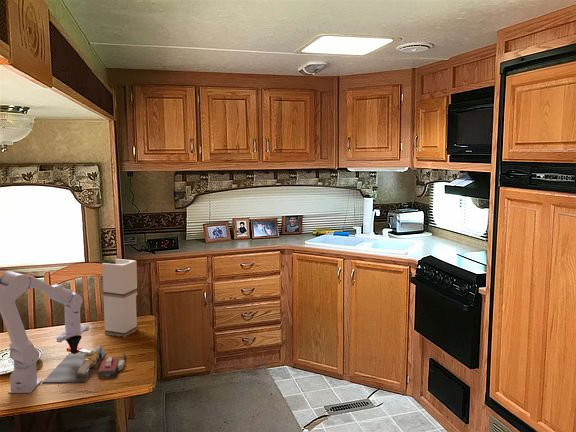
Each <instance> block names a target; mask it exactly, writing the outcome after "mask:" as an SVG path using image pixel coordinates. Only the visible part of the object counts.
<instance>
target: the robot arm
mask: <svg viewBox="0 0 576 432" xmlns="http://www.w3.org/2000/svg"><path fill="white" fill-rule="evenodd" d="M30 289H36V290H38V291H41V292H43V293H46V294H47V297H48V299H50V300H53V301H56V302H58V303H60V304H61V305H63V306H64V307H63V309H64V330H65V332H62V334H60V335H59V336H56V342H57V343H63V341H66V343H67V344H68V347H70V350H71V352H70V353H72V354H76V353H77V347H79V344H80V341H81V340H82V334H83V333H85V332H88V331H90V328H89V327H90V326H88V325H83V326H81V310H82V309H81V306H82V303H83V301H84V299H83V298H82V296H81V294H79V293H77V292H75V291H73V290H72V289H70V288H68V289H67V288H65V287H64V285H63V284H60V283H58V284H57V283H56V284H53V285H51V284H49V283H47V282H45V281H43V280H41V279H39V278H37V277H34V276H32V275H27V274H23V273H20V272H16V271H13V270H8V271H5V272H3V273H2V274H1V276H0V315H1V319H2V321H3V323H4V326H5V329H6V332H7V335H8V336H9V339H10V344H9V349H10V350H9V357H10V359H11V360H13V371H12V372H11V374H10V376H9V383H10V384H9V385H10V389H9V390H8V392H7V393H9V394H27V393H28V394H30V393H32V392H33V391H34V390H35V388H37V387H38V385H40V383H41V382H43V380H42V379H41V378H40V379H38V375H37V374H38V373H37V362H38V360H39V359H40V352H39V349H37V348H36V347H35V346H34V344H33V342H32V341H31V340H30V339H29V338H28V335H27V331H26V330H25V326H24V324H23V321H22V319H21V315H20V312H19V309H18V307H17V305H16V300H18V299H19V297H20V296H22V295H23V294H24V293H25V292H26V291H27V290H30Z"/></svg>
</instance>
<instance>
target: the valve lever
mask: <svg viewBox="0 0 576 432" xmlns="http://www.w3.org/2000/svg"><path fill="white" fill-rule="evenodd" d="M66 352H69V353H71V350H70V346H68V347H66ZM77 353H84V354H87V355H93V354H94V350H89V349H88V350H87V349H82V347H79V346H78V347H77Z"/></svg>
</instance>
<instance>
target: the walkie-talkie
mask: <svg viewBox="0 0 576 432" xmlns="http://www.w3.org/2000/svg"><path fill="white" fill-rule="evenodd" d="M125 358H126V353H123V354H122V356H121V359H120V358H114V357H113V356H112V357H107V358H104V359H102V360H101V362H100V363H101V364H100V366H99V369H98V370H97V377H98V378H99V379H103V378H114V377H116V376H117V374H118V372H119V371H121V370H123V369H124V366H125V363H126V362H125V361H126V360H125Z"/></svg>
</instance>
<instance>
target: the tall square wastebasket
mask: <svg viewBox="0 0 576 432" xmlns="http://www.w3.org/2000/svg"><path fill="white" fill-rule="evenodd" d="M137 263H138V262H137V260H133V259H122V258H115V263H109V262H108V263H105V262H102V266H101V267H102V268H101V269H102V292H103V316H104V320H103V321H104V323H103V324H104V334H105V335H107V334H108V335H109V336H114V335H116V336H115V337H120V336H123V337H122V338H126V337H128V336H129V334H130V333H131V334H133V333H134V332H133V331H135V330H136V329H138V330H139V325H138V323H137V322H138V320H137V296H138V271H137V270H138V267H137V265H138V264H137ZM132 332H133V333H132ZM135 332H136V331H135ZM131 334H130V335H131ZM127 335H128V336H127ZM125 336H126V337H125Z"/></svg>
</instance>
